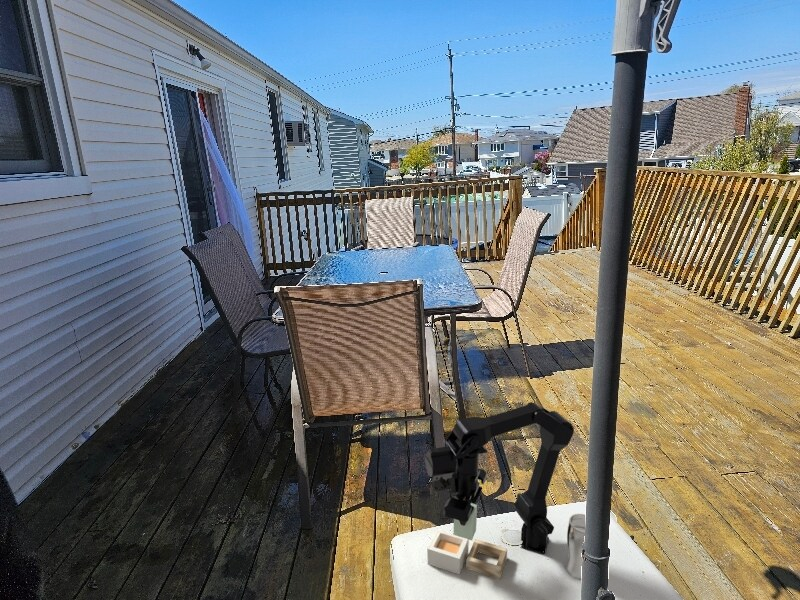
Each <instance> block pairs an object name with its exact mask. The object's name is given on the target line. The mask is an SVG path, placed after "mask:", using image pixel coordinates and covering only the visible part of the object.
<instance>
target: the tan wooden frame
mask: <svg viewBox="0 0 800 600" xmlns="http://www.w3.org/2000/svg"><path fill="white" fill-rule="evenodd" d="M478 551H479V552H481V553H480V554H483V555H486V556H489V557H493V558H495V559H498V560H497V563H496V564H494V563H491V562H488V561H484V560H481V559H477V556H478V553H479V552H478ZM477 552H478V553H477ZM476 555H477V556H476ZM507 558H508V548H507V547H503V546H501V545H498V544H497V545H496V544H494V543H490V542H487V541H483V540H481V539H476V538H475V539H474V541H473V543H472V545H471V547H470V550H469V551H468V555H467V558H466V560H465V562H466V570H469V571H471V572H476V573H478V574H481V575H485V576H487V577H491V578H494V579H497V580H501V577H502V573H503V570H504V568H505V564H506V562H507Z"/></svg>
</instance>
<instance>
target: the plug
mask: <svg viewBox="0 0 800 600" xmlns="http://www.w3.org/2000/svg"><path fill="white" fill-rule="evenodd" d="M471 506H474V509H473V511H472V514H471V515H470V517H469V520H468V521H467V522H466V524H465V526H463V525H461V524H460V522H459V520H456V519H453V532H452V533H453V535H456V536H459V537H463V538H466V539H469V540H470V541H473V539H474V537H475V534H476V531H477V521H478V520H477V519H478V518H477V517H478V503H477V504H476V503H475V504H473V503H471Z"/></svg>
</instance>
